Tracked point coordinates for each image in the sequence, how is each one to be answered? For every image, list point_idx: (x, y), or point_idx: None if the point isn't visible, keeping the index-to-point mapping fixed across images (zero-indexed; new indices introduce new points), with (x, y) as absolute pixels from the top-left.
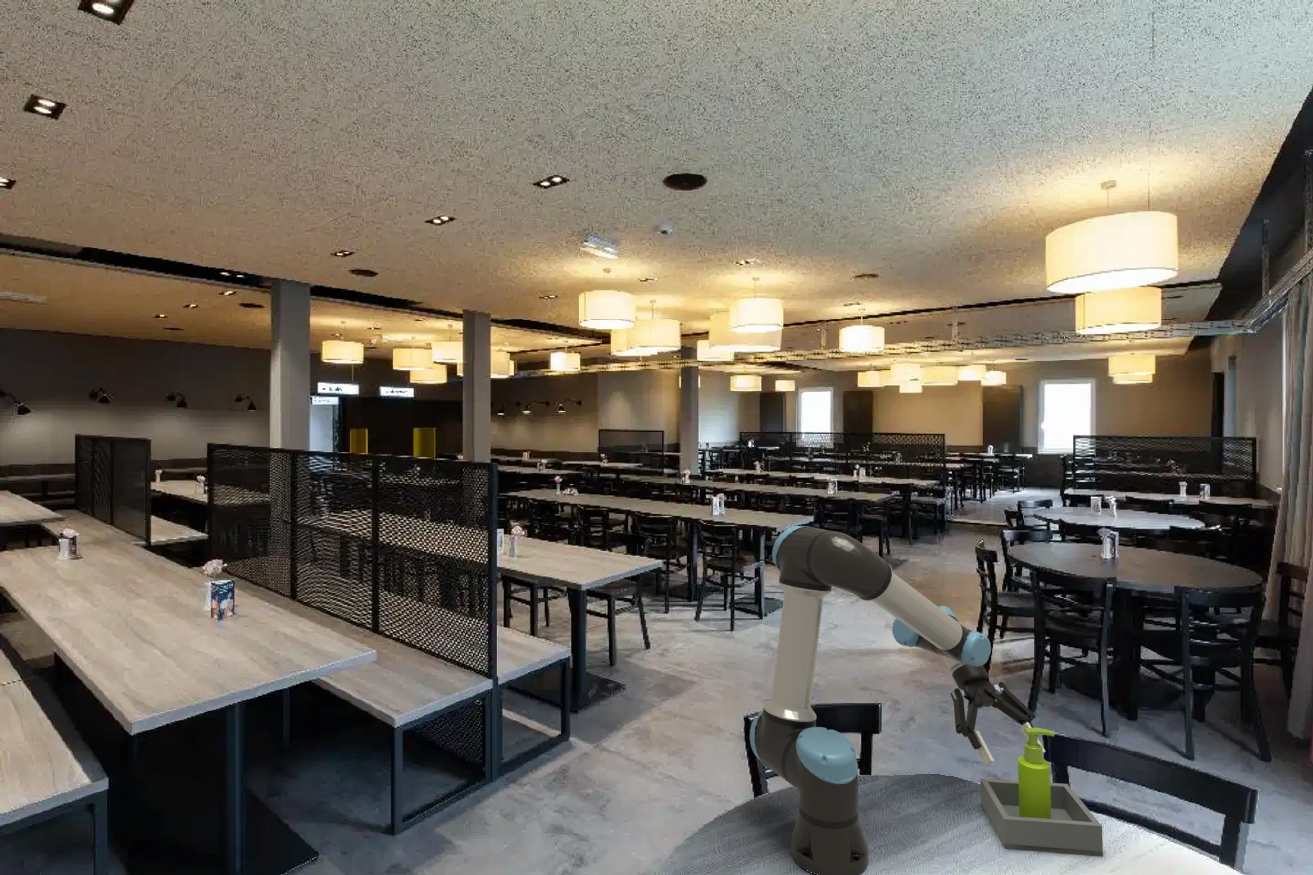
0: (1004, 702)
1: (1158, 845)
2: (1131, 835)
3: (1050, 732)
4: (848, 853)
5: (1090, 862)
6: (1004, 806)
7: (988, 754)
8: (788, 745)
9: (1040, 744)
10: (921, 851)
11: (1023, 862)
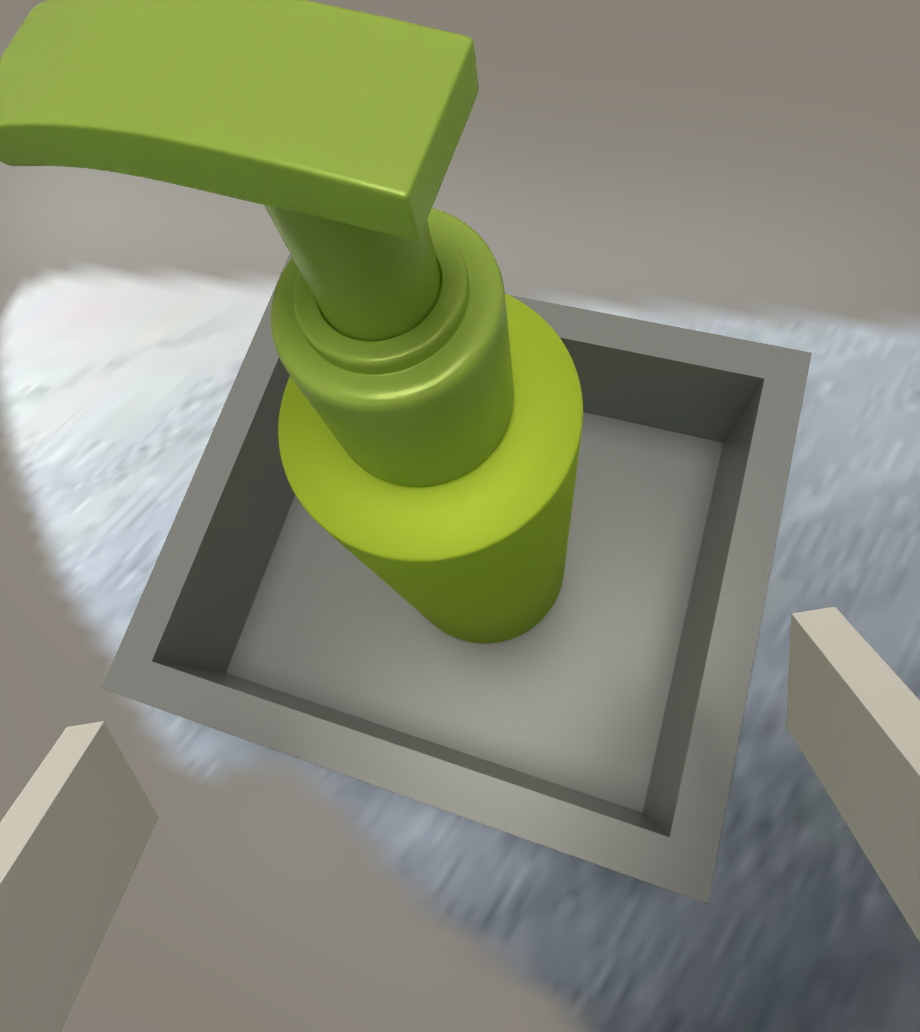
0: None
1: (56, 387)
2: (93, 461)
3: (43, 38)
4: None
5: None
6: (553, 761)
7: (873, 658)
8: None
9: (33, 792)
10: None
11: (718, 334)
